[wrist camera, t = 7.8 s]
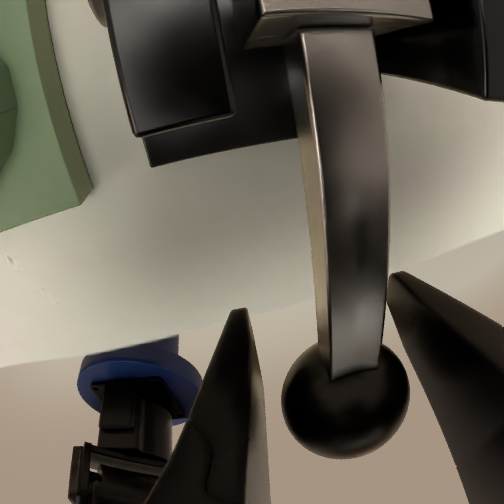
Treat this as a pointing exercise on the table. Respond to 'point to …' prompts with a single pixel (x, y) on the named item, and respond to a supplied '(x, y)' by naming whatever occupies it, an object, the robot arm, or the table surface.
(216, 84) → the bracket
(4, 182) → the control block
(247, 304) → the table surface
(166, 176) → the table surface
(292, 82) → the lever
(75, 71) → the table surface
